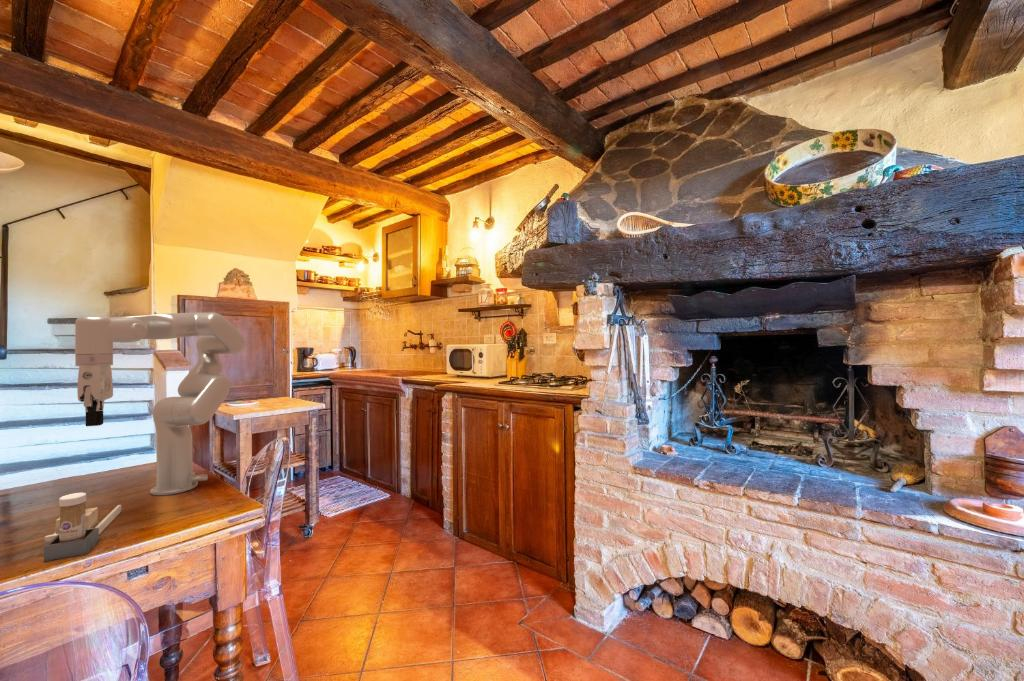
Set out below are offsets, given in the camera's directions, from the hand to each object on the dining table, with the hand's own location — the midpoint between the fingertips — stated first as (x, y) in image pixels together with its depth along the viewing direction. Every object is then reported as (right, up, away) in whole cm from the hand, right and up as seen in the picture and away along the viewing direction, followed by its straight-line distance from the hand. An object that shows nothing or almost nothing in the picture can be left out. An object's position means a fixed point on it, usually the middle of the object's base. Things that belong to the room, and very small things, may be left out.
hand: (94, 425), depth 117 cm
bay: (+2, -27, -4) cm, 28 cm away
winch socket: (+11, -27, -17) cm, 34 cm away
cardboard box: (+5, -27, -10) cm, 29 cm away
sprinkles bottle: (+11, -27, -16) cm, 34 cm away
